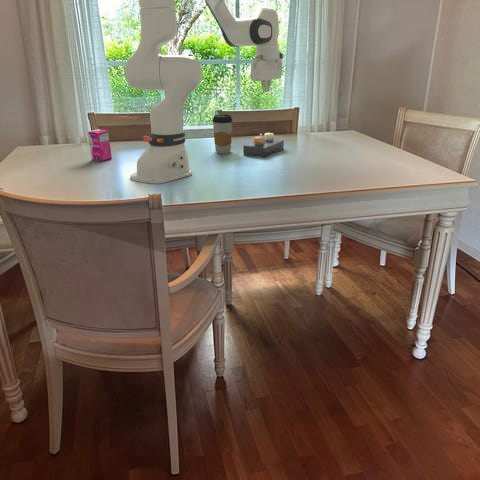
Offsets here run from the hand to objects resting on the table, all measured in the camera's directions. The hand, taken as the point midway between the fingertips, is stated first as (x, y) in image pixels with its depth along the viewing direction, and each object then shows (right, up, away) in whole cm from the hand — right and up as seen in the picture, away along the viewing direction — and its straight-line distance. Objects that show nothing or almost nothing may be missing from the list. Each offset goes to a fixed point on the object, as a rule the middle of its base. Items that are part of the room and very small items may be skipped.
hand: (266, 91), depth 182 cm
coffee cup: (-18, -23, +7) cm, 30 cm away
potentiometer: (-2, -19, +6) cm, 20 cm away
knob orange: (-3, -25, +3) cm, 25 cm away
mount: (-1, -23, +7) cm, 24 cm away
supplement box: (-66, -29, -3) cm, 72 cm away
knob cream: (+2, -22, +10) cm, 24 cm away
